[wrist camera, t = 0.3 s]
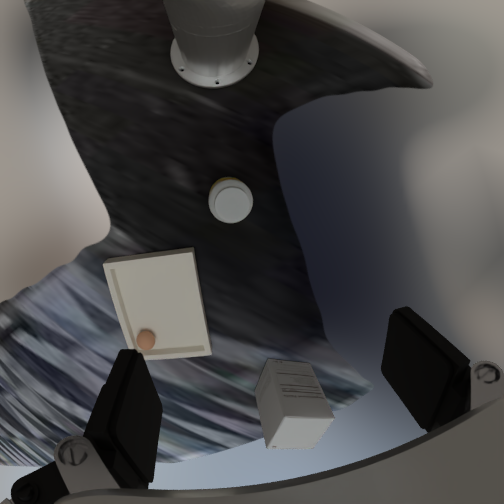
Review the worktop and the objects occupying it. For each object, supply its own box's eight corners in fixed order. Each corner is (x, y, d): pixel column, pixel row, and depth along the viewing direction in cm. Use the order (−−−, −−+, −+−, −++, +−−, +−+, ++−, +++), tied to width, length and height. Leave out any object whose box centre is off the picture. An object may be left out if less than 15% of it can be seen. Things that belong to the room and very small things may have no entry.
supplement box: (294, 394, 55) (313, 450, 41) (253, 390, 53) (264, 450, 39) (311, 362, 52) (337, 418, 38) (267, 356, 51) (284, 417, 36)
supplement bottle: (202, 198, 41) (197, 209, 32) (225, 168, 40) (227, 171, 31) (231, 220, 42) (236, 237, 33) (254, 191, 42) (265, 200, 32)
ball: (136, 328, 45) (132, 338, 42) (153, 326, 45) (150, 337, 42) (141, 343, 46) (137, 354, 43) (158, 342, 46) (155, 353, 43)
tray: (108, 258, 42) (102, 263, 39) (193, 247, 43) (192, 252, 41) (136, 352, 47) (133, 360, 45) (211, 346, 49) (211, 354, 46)
